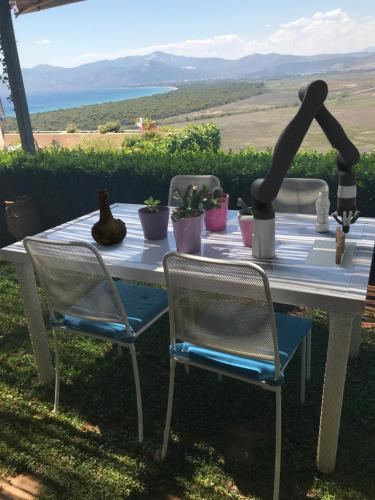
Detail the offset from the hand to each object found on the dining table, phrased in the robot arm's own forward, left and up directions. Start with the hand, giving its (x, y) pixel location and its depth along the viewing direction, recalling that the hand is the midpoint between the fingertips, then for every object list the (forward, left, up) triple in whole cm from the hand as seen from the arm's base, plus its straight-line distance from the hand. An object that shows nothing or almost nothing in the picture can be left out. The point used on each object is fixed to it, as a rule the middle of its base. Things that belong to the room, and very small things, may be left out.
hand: (345, 233), depth 186 cm
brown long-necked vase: (-97, +60, -5) cm, 114 cm away
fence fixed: (-14, -14, -5) cm, 20 cm away
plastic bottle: (+2, +20, -5) cm, 20 cm away
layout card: (-12, -7, -5) cm, 15 cm away
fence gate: (-5, -3, -4) cm, 7 cm away
